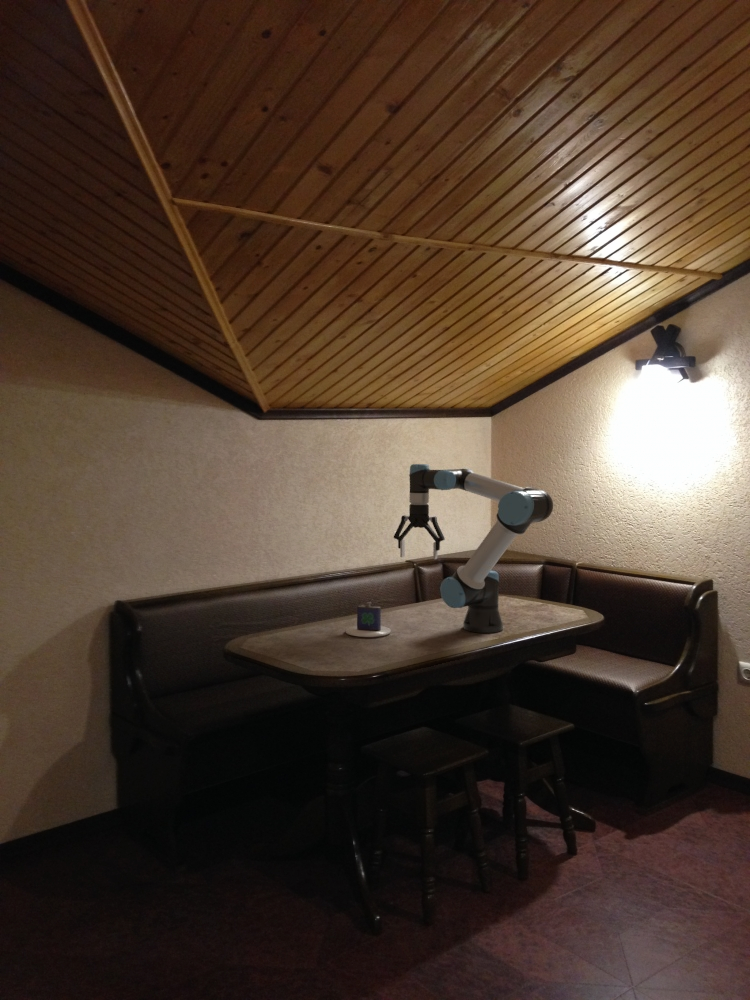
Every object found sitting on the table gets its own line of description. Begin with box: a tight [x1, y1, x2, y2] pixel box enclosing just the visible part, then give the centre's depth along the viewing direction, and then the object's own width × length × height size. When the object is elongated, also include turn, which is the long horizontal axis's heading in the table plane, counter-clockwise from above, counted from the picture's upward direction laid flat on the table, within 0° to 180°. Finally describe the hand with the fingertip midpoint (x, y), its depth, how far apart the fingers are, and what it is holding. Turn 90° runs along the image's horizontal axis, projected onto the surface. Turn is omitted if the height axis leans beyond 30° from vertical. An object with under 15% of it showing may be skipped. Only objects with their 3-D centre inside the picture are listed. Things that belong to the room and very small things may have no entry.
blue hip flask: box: [356, 601, 382, 631], centre depth 310 cm, size 9×3×11 cm, turn 74°
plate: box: [345, 625, 392, 638], centre depth 310 cm, size 17×17×1 cm
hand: (418, 558), depth 322 cm, fingers open, 13 cm apart
